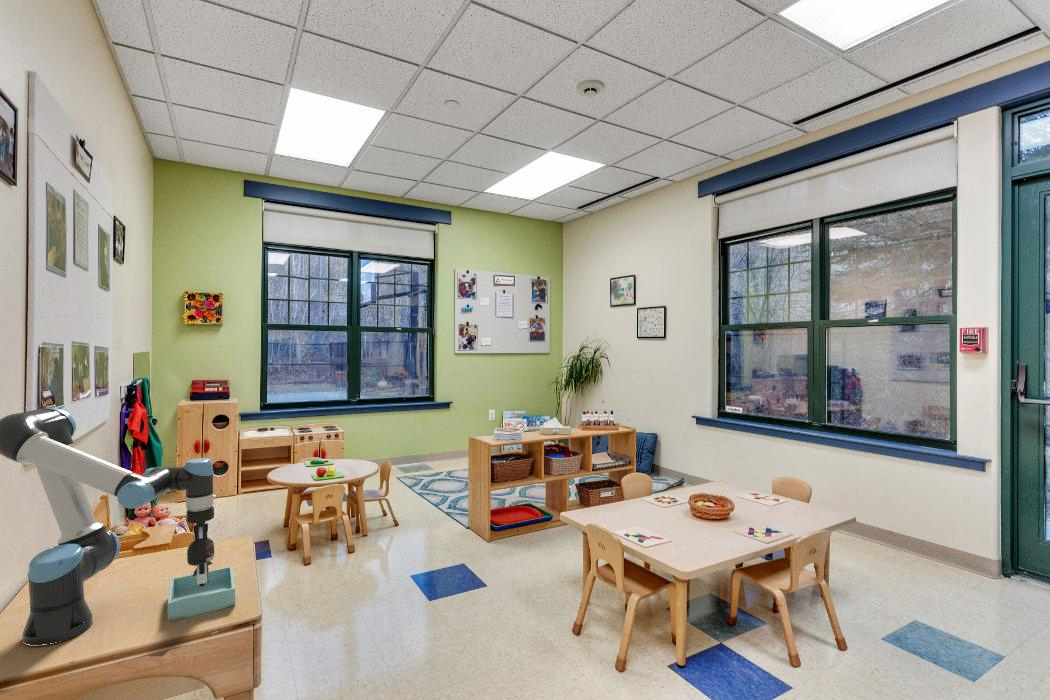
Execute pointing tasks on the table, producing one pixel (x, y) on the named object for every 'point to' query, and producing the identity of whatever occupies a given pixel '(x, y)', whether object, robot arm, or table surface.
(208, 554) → the toy
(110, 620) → the table surface
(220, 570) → the bin
